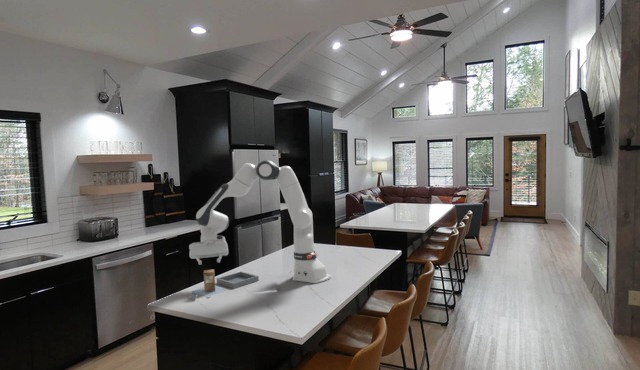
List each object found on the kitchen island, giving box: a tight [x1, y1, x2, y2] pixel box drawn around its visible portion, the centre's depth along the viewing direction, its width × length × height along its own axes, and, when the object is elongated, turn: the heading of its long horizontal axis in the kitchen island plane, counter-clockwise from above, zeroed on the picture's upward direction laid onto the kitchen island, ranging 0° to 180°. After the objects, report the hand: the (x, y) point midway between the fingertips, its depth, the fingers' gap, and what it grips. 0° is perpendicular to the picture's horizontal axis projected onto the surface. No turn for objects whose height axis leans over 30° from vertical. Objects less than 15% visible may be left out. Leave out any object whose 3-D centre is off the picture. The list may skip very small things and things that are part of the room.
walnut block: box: [203, 268, 216, 292], centre depth 196 cm, size 5×5×10 cm
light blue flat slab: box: [192, 285, 228, 299], centre depth 197 cm, size 14×12×1 cm
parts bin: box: [216, 271, 259, 289], centre depth 209 cm, size 16×16×4 cm
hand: (209, 263), depth 203 cm, fingers open, 8 cm apart
